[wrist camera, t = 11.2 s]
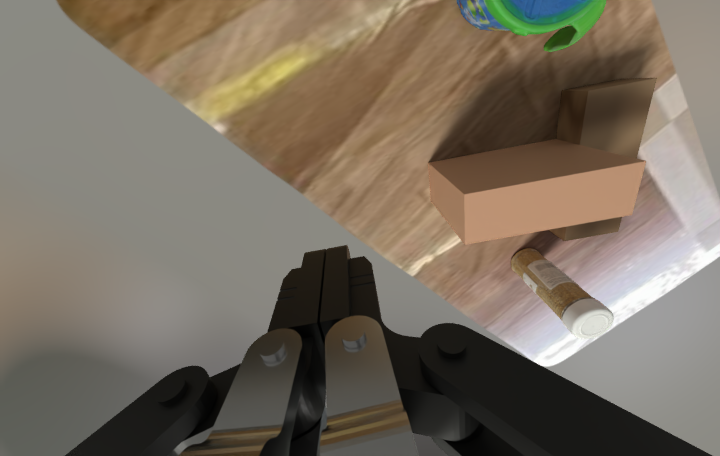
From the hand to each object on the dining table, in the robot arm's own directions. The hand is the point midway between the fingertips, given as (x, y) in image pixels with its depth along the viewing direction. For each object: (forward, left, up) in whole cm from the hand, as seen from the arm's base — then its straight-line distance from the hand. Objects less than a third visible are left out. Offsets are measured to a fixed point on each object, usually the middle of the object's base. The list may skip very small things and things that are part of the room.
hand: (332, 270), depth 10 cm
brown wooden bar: (+8, +30, -27) cm, 41 cm away
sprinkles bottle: (+22, +24, -27) cm, 42 cm away
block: (+7, +19, -27) cm, 34 cm away
